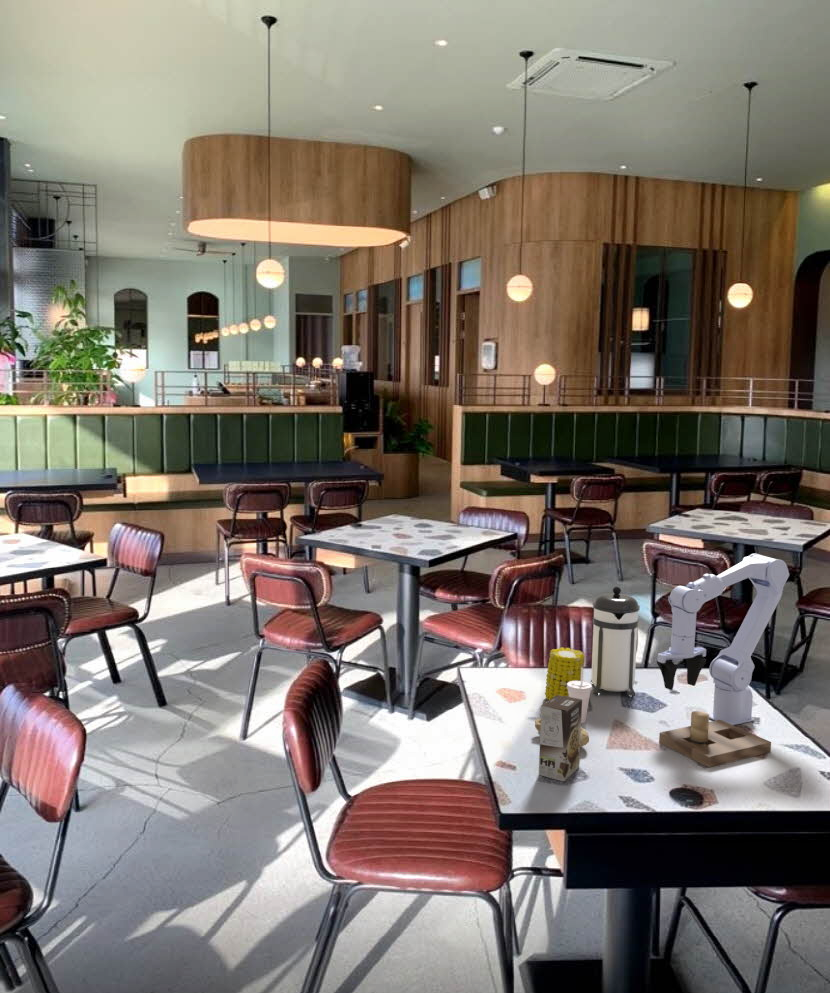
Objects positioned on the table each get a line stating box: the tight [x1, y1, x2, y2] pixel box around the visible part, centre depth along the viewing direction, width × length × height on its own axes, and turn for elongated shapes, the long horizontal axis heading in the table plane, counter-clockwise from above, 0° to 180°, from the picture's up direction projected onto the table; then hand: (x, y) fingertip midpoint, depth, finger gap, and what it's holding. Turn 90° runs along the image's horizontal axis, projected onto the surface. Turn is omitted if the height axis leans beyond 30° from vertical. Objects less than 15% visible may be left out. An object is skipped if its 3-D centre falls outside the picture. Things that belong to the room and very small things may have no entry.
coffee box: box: [538, 695, 582, 782], centre depth 202 cm, size 9×6×16 cm
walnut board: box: [658, 720, 772, 768], centre depth 218 cm, size 20×16×2 cm
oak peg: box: [690, 710, 710, 747], centre depth 216 cm, size 4×4×9 cm
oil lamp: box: [534, 718, 590, 748], centre depth 219 cm, size 11×14×5 cm
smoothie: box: [567, 667, 593, 724], centre depth 233 cm, size 6×6×14 cm
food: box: [544, 646, 585, 701], centre depth 248 cm, size 15×12×10 cm
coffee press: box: [590, 586, 641, 698], centre depth 257 cm, size 17×16×30 cm
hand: (680, 686), depth 230 cm, fingers open, 7 cm apart
